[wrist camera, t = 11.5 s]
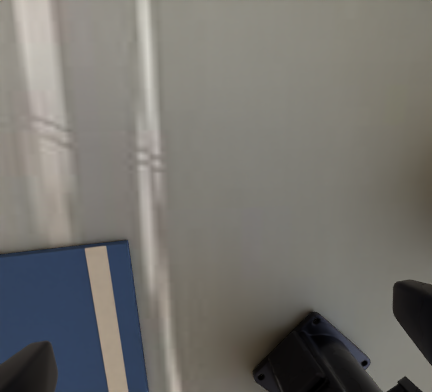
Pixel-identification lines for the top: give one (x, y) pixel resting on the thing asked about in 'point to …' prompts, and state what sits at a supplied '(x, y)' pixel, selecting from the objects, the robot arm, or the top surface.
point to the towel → (76, 314)
